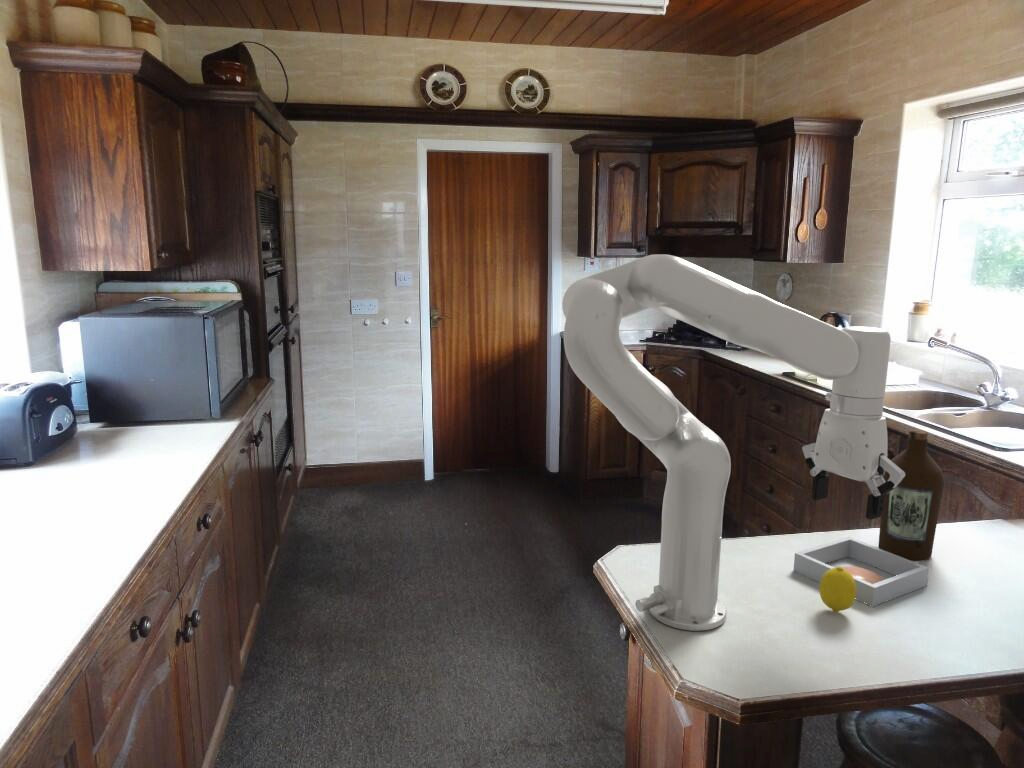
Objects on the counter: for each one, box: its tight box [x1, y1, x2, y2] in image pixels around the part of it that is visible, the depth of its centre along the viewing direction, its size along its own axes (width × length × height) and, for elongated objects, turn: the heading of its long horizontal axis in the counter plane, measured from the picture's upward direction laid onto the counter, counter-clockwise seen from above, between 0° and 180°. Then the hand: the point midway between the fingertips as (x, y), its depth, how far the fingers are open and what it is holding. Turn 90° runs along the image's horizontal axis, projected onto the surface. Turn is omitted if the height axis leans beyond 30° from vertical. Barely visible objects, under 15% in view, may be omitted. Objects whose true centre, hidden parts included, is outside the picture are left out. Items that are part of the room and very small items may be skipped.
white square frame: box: [793, 536, 930, 607], centre depth 130 cm, size 16×16×4 cm
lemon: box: [819, 566, 856, 613], centre depth 117 cm, size 6×6×8 cm
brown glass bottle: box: [878, 429, 945, 562], centre depth 140 cm, size 11×11×25 cm
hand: (845, 507), depth 115 cm, fingers open, 9 cm apart
